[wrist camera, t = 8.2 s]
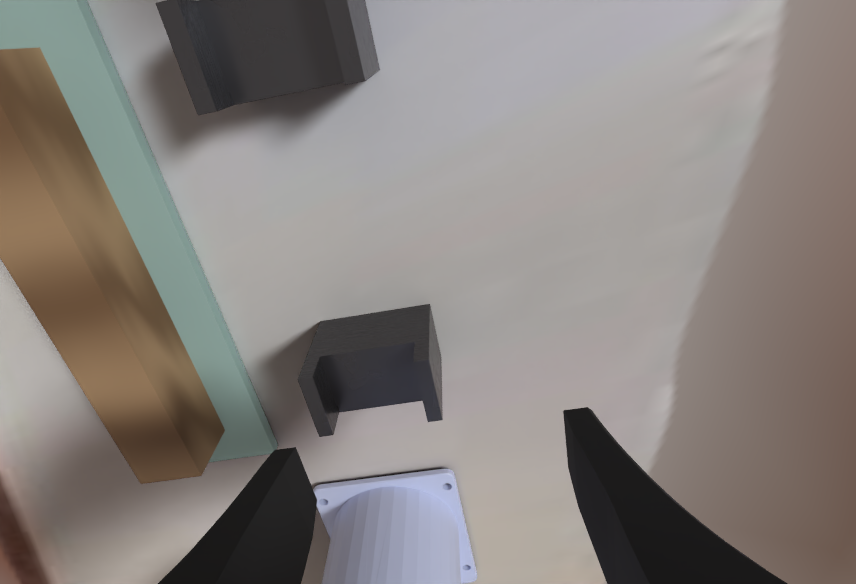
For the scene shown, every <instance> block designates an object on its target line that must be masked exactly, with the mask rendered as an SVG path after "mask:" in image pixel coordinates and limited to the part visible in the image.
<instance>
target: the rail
mask: <svg viewBox="0 0 856 584" xmlns="http://www.w3.org/2000/svg"><path fill="white" fill-rule="evenodd" d="M0 258H1V260H2V261H3V263H4V265H5V266H6V268H7V270H8V271H9V273H10V274H11V276H12V278H13V279H14V281H15V282H16V284H17V286H18V287H19V289H20V290H21V292H22V294H23V295H24V297H25V298H26V300H27V302H28V303H29V305H30V307H31V308H32V310H33V311H34V313H35V315H36V316H37V318H38V319H39V321H40V323H41V324H42V326H43V327H44V329H45V331H46V332H47V334H48V335H49V337H50V339H51V340H52V342H53V343H54V345H55V347H56V348H57V350H58V352H59V353H60V355H61V356H62V358H63V360H64V361H65V363H66V364H67V366H68V368H69V369H70V371H71V372H72V374H73V376H74V377H75V379H76V380H77V382H78V384H79V385H80V387H81V388H82V390H83V392H84V393H85V395H86V397H87V398H88V400H89V401H90V403H91V405H92V406H93V408H94V409H95V411H96V413H97V414H98V416H99V417H100V419H101V421H102V422H103V424H104V425H105V427H106V429H107V430H108V432H109V433H110V435H111V437H112V438H113V440H114V442H115V443H116V445H117V446H118V448H119V450H120V451H121V453H122V454H123V456H124V458H125V459H126V461H127V462H128V464H129V466H130V467H131V469H132V470H133V472H134V474H135V475H136V477H137V478H138V480H139V482H140V483H141V484H143V483H151V482H159V481H166V480H174V479H181V478H189V477H196V476H202V474H203V472H204V470H205V468H206V466H207V464H208V462H209V460H210V458H211V456H212V455H213V453H214V451H215V449H216V447H217V445H218V443H219V441H220V439H221V437H222V435H223V433H224V432H225V429H224V427H223V425H222V423H221V420H220V418H219V416H218V414H217V412H216V410H215V408H214V406H213V404H212V402H211V400H210V398H209V396H208V394H207V392H206V389H205V387H204V385H203V383H202V381H201V379H200V377H199V375H198V373H197V371H196V369H195V367H194V365H193V363H192V361H191V359H190V356H189V354H188V352H187V350H186V348H185V346H184V344H183V342H182V340H181V338H180V336H179V334H178V332H177V330H176V328H175V325H174V323H173V321H172V319H171V317H170V315H169V313H168V311H167V309H166V307H165V305H164V303H163V301H162V299H161V297H160V294H159V292H158V290H157V288H156V286H155V284H154V282H153V280H152V278H151V276H150V274H149V272H148V270H147V268H146V266H145V264H144V261H143V259H142V257H141V255H140V253H139V251H138V249H137V247H136V245H135V243H134V241H133V239H132V237H131V235H130V233H129V230H128V228H127V226H126V224H125V222H124V220H123V218H122V216H121V214H120V212H119V210H118V208H117V206H116V204H115V202H114V199H113V197H112V195H111V193H110V191H109V189H108V187H107V185H106V183H105V181H104V179H103V177H102V175H101V173H100V171H99V168H98V166H97V164H96V162H95V160H94V158H93V156H92V154H91V152H90V150H89V148H88V146H87V144H86V142H85V140H84V138H83V135H82V133H81V131H80V129H79V127H78V125H77V123H76V121H75V119H74V117H73V115H72V113H71V111H70V109H69V107H68V104H67V102H66V100H65V98H64V96H63V94H62V92H61V90H60V88H59V86H58V84H57V82H56V80H55V78H54V76H53V73H52V71H51V69H50V67H49V65H48V63H47V61H46V59H45V57H44V55H43V53H42V51H41V49H40V47H39V48H19V49H0Z"/></svg>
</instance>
